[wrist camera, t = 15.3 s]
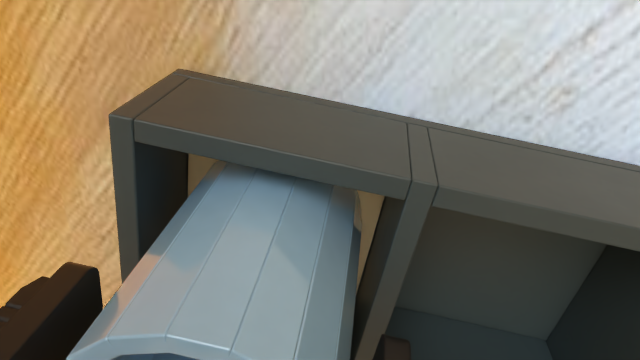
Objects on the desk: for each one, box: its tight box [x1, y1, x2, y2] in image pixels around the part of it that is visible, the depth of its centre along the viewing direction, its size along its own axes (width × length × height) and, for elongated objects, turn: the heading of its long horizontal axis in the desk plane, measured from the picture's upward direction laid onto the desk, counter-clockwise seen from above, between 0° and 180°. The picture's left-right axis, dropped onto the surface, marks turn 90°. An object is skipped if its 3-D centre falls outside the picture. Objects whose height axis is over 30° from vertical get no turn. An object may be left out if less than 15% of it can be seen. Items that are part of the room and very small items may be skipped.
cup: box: [66, 160, 362, 360], centre depth 13 cm, size 6×6×9 cm
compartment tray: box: [109, 69, 640, 360], centre depth 18 cm, size 17×17×5 cm
